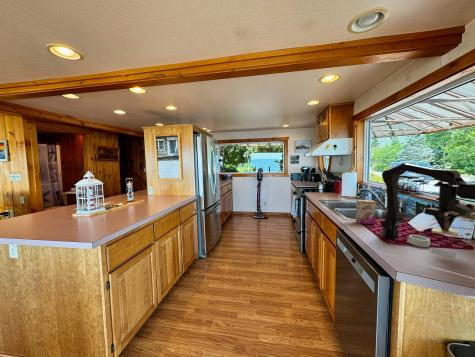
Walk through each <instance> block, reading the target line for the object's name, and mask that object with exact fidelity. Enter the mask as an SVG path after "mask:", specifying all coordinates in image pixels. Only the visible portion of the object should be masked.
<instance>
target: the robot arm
mask: <svg viewBox="0 0 475 357" xmlns="http://www.w3.org/2000/svg"><path fill="white" fill-rule="evenodd" d="M407 172H409V173H412V174H419V175H423V176H425V177H430V178H433V179H434V180H436V181H437V182H436V183H435V184H433V186H434V187H439V188H438V189H439V192H438V197H436V199H435V200H436V201H438V204H437V206H436V205H435V207H425V208H424V211H423V214H425V215H428V216H431V217H432V216H433V217H434V218H435V220H436V223H438V226H439V228H441V229H445V226H446V221H447V220H449V229H450V228H451V226H452V224H453V223H454V221H455V220H456V219H458V218H459V217H469V216H471V215H472V213H475V205H474V204H472V203H468V204H463V203H461V201H460V199H466V200H467V199H468V200H473V201H474V200H475V183H467V182H466V181H465V180H464V179H463V178H462V177H461V173H460V172H459V171H458V170H456V169H445V168H444V169H443V168H432V167H426V166H421V165H415V164H412V163H411V164H410V163H403V162H402V163H400V164H399V165H396V166H394V167H392V168H390V169H386V170H384V171H383V172H382V173H381V178H382V182H383V183H384V184H385V187H386V200H387V211H386V214H385V219H384V220H383V221H381V222H380V225H381V226H380V227H382V232H381V233H380V236H383V237H384V238H386V239H390V240H391V239H399V229H398V228H399V227H400V225H402V224H403V222H404V220H405V217H404V212H401V211H400V209H399V200H398V199H399V198H398V187H397V186H398V183H399V181H400V176H401V175H403V174H405V173H407ZM457 197H459V198H460V199H458V198H457Z"/></svg>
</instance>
